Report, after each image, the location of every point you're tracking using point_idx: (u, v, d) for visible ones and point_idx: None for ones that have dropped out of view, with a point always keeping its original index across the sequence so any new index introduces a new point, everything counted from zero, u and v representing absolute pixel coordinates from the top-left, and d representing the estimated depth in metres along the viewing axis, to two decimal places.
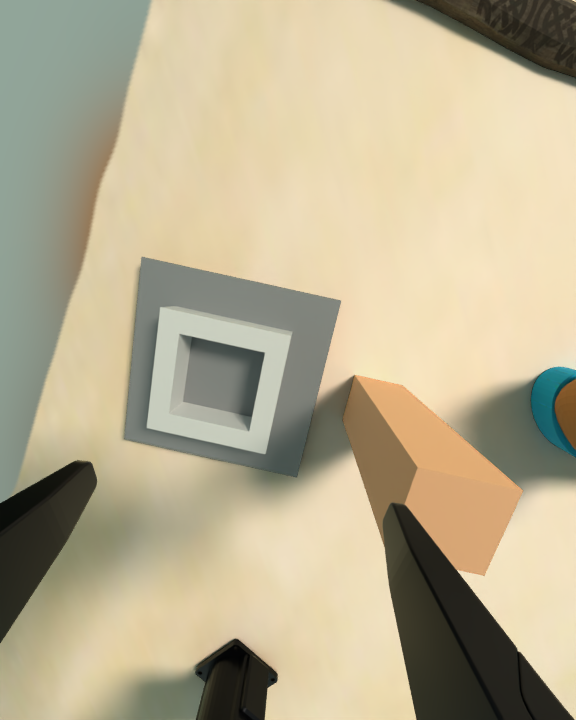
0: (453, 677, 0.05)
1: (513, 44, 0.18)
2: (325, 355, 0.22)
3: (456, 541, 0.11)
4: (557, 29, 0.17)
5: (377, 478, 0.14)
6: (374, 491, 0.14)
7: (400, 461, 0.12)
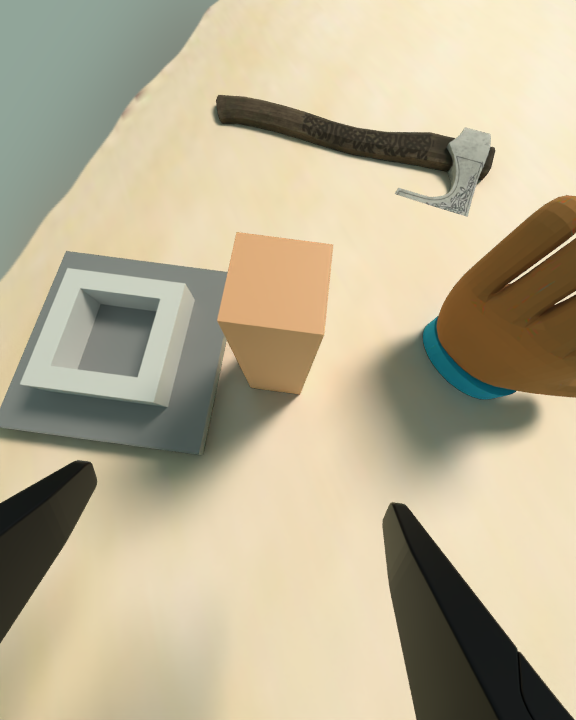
0: (453, 677, 0.05)
1: (328, 143, 0.30)
2: None
3: (286, 298, 0.11)
4: (348, 135, 0.30)
5: None
6: None
7: None
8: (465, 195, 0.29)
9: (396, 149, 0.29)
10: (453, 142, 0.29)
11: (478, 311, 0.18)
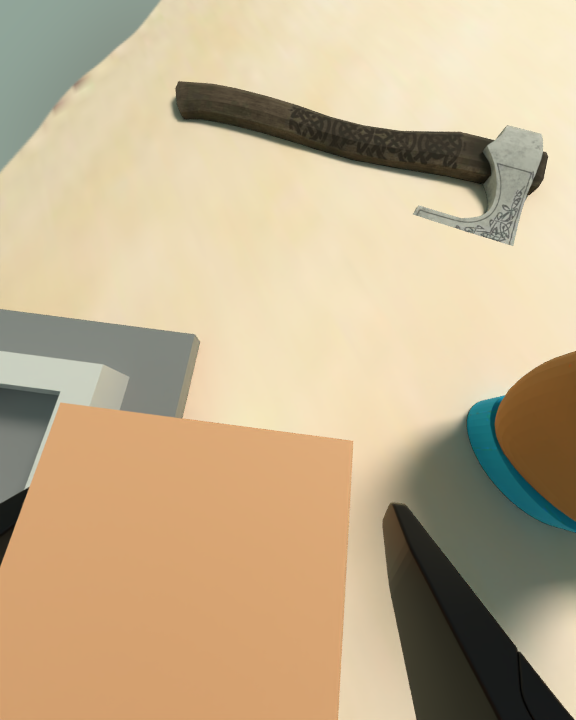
0: (453, 677, 0.05)
1: (323, 146, 0.23)
2: (175, 405, 0.16)
3: (191, 685, 0.03)
4: (350, 134, 0.22)
5: None
6: None
7: None
8: (510, 216, 0.21)
9: (415, 154, 0.22)
10: (493, 145, 0.21)
11: None
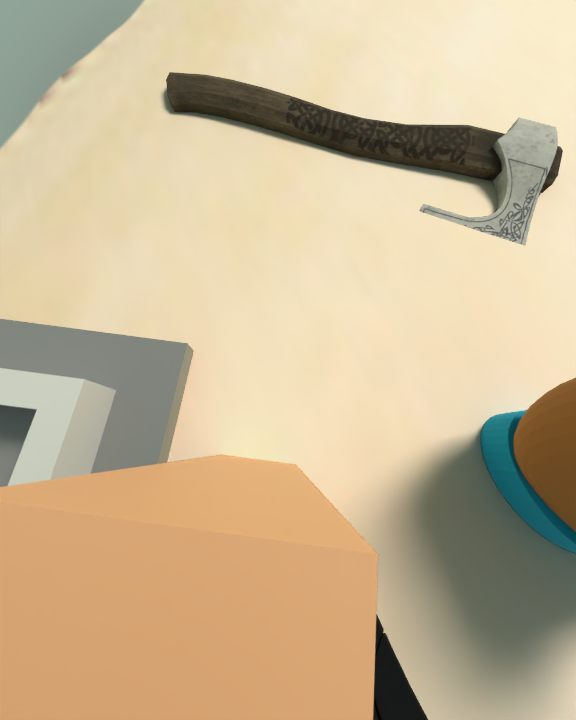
0: None
1: (323, 140, 0.21)
2: (165, 421, 0.14)
3: None
4: (351, 128, 0.21)
5: None
6: None
7: None
8: (521, 216, 0.20)
9: (421, 149, 0.21)
10: (503, 139, 0.20)
11: None
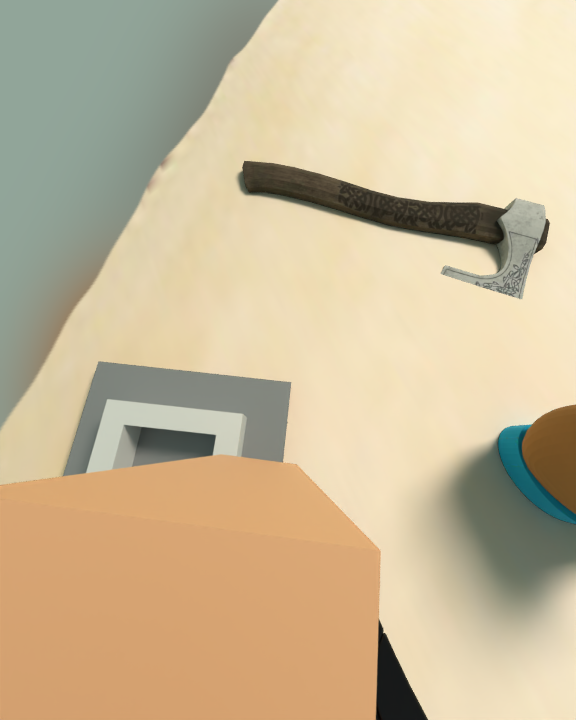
0: None
1: (366, 215, 0.28)
2: (283, 438, 0.21)
3: None
4: (389, 207, 0.27)
5: None
6: None
7: None
8: (519, 274, 0.26)
9: (442, 223, 0.27)
10: (505, 216, 0.26)
11: None
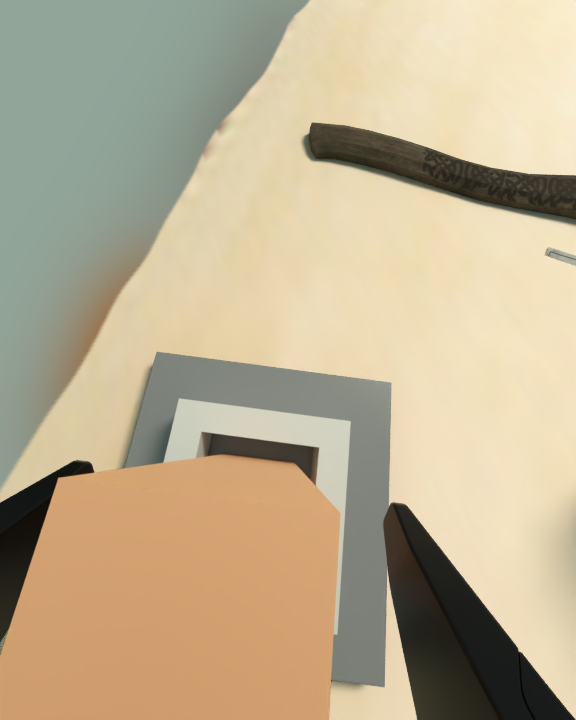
0: (454, 677, 0.05)
1: (454, 187, 0.24)
2: (387, 452, 0.17)
3: None
4: (483, 178, 0.23)
5: None
6: None
7: None
8: None
9: (546, 198, 0.23)
10: None
11: None
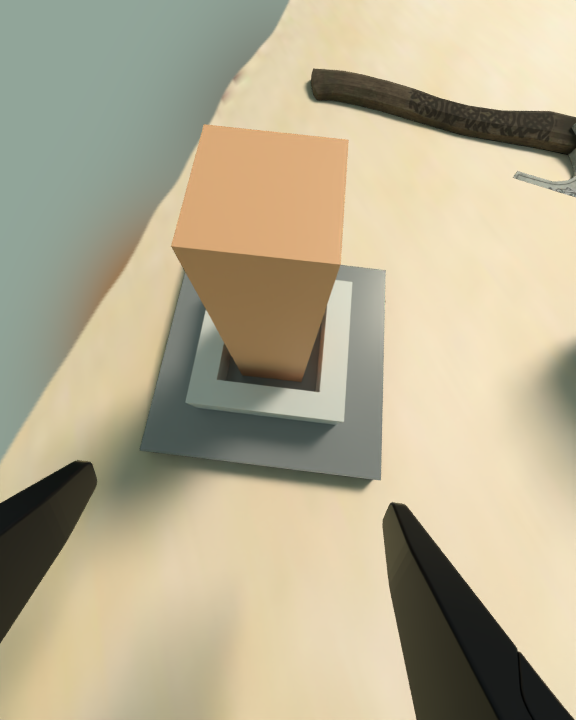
0: (453, 677, 0.05)
1: (436, 122, 0.28)
2: (382, 320, 0.21)
3: (279, 213, 0.07)
4: (460, 113, 0.27)
5: None
6: None
7: None
8: None
9: (515, 129, 0.27)
10: None
11: None
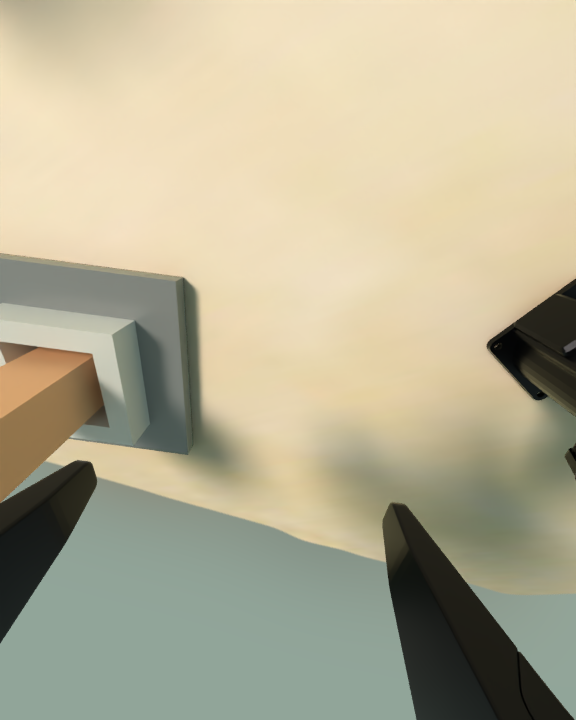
0: (453, 677, 0.05)
1: None
2: (6, 261, 0.18)
3: None
4: None
5: None
6: None
7: None
8: None
9: None
10: None
11: None
